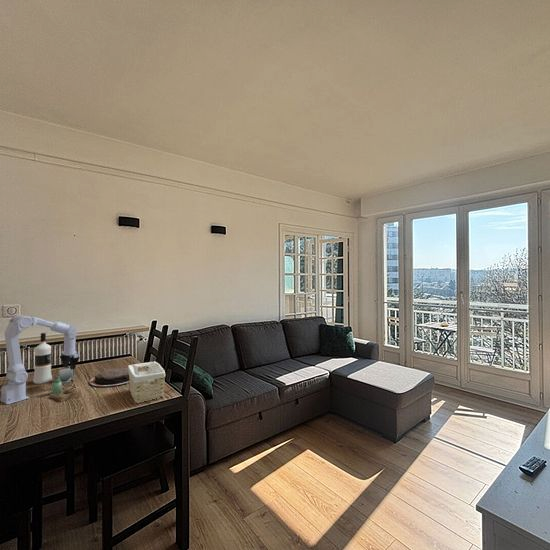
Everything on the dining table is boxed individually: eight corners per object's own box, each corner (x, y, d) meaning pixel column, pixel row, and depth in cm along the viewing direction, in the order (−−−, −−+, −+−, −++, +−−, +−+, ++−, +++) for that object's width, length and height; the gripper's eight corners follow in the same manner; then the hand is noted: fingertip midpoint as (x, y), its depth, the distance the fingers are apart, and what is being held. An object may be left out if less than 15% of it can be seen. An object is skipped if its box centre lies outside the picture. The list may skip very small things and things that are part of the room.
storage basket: (166, 398, 163) (166, 371, 163) (133, 405, 155) (133, 376, 155) (156, 385, 184) (156, 360, 184) (126, 390, 175) (127, 364, 175)
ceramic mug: (59, 379, 191) (59, 367, 191) (74, 377, 195) (74, 365, 195) (56, 385, 182) (56, 372, 182) (72, 383, 186) (72, 370, 186)
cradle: (61, 401, 158) (61, 397, 158) (49, 397, 164) (49, 392, 164) (80, 395, 166) (80, 391, 166) (69, 391, 172) (69, 387, 172)
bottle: (54, 395, 167) (54, 378, 167) (50, 393, 169) (50, 377, 169) (63, 392, 170) (63, 376, 170) (59, 391, 173) (59, 375, 173)
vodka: (32, 381, 188) (33, 332, 188) (51, 378, 194) (52, 331, 194) (33, 385, 181) (33, 335, 181) (52, 382, 187) (53, 333, 187)
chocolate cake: (97, 374, 202) (97, 364, 202) (142, 371, 210) (142, 362, 210) (82, 390, 175) (82, 378, 175) (135, 386, 183) (135, 375, 183)
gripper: (83, 345, 183) (83, 368, 183) (70, 342, 190) (69, 364, 190) (70, 347, 176) (70, 371, 176) (57, 344, 184) (57, 367, 183)
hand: (69, 368), depth 183 cm, fingers open, 7 cm apart
